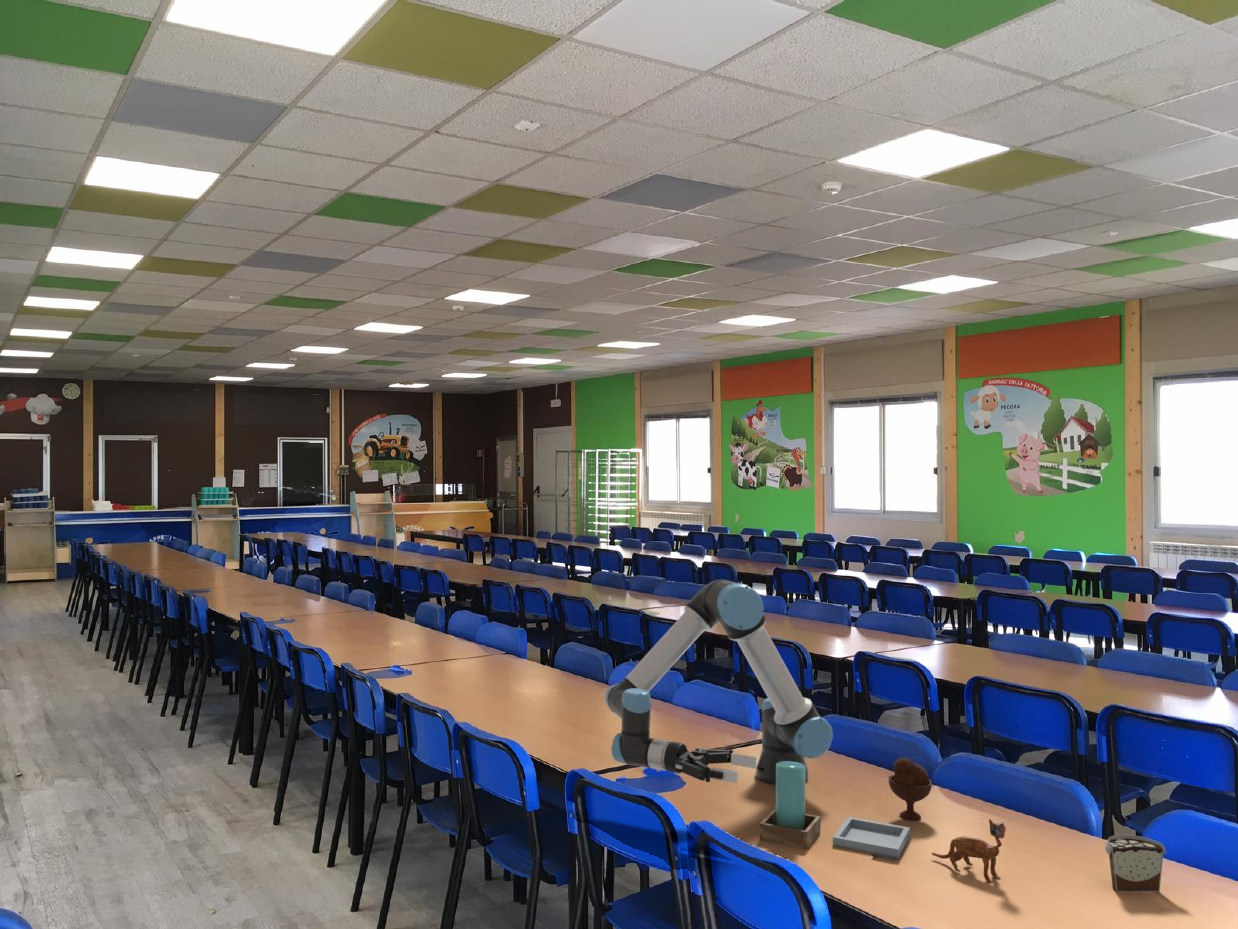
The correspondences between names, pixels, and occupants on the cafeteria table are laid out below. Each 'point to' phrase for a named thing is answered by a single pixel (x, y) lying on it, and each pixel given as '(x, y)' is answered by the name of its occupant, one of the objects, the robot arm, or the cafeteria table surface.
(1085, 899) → the cafeteria table surface
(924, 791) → the ice cream bowl
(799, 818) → the teal jar
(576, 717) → the cafeteria table surface
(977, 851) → the cat figurine
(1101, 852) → the cafeteria table surface
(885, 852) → the tray
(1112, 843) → the food container
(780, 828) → the open wooden box
